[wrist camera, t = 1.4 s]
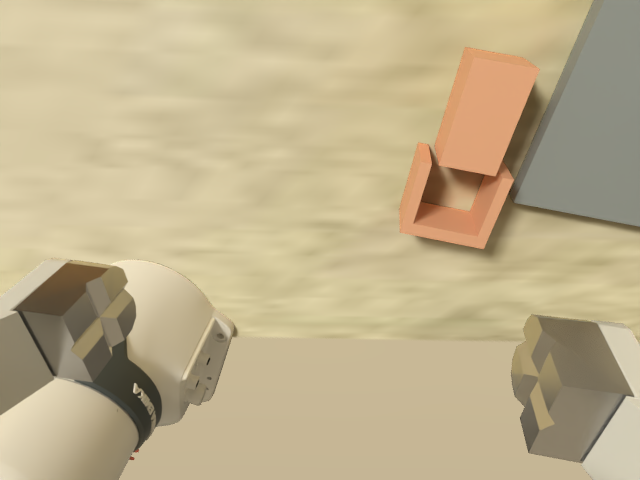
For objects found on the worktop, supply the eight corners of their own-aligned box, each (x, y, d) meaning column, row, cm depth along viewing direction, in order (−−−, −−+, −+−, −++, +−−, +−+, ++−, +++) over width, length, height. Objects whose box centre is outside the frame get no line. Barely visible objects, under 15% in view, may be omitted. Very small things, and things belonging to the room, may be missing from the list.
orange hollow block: (475, 223, 36) (483, 249, 33) (399, 208, 36) (399, 232, 33) (542, 61, 29) (561, 73, 25) (446, 43, 29) (453, 53, 26)
